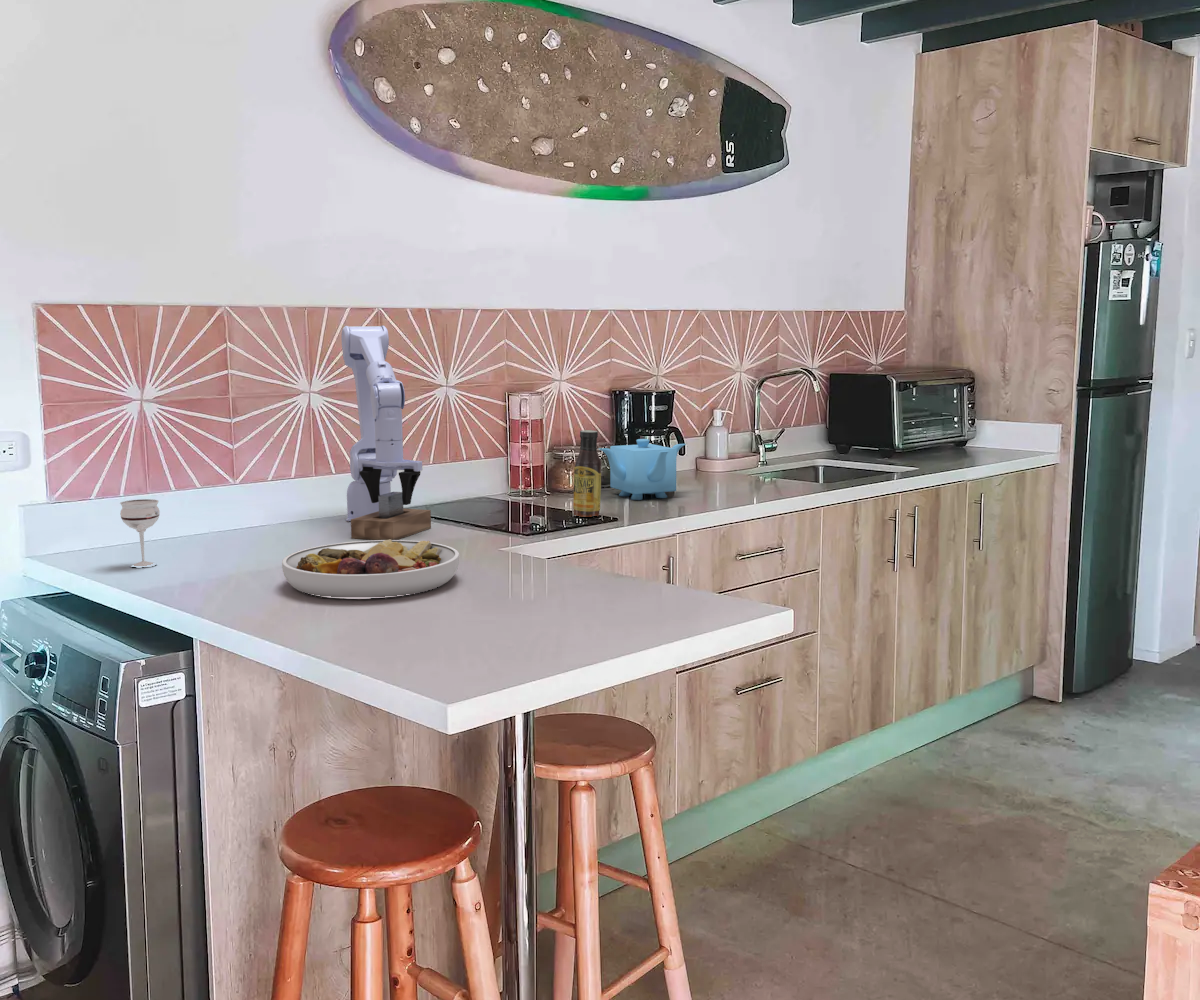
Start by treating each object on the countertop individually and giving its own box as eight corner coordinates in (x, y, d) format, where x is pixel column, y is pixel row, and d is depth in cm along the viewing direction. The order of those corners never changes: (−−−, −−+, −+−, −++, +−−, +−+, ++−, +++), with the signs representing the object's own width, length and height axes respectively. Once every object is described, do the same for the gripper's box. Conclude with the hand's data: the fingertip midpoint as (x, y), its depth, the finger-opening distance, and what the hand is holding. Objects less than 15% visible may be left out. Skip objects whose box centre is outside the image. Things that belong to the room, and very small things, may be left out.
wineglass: (170, 562, 217) (166, 499, 215) (147, 570, 211) (143, 505, 209) (139, 561, 219) (135, 498, 217) (116, 568, 213) (111, 504, 211)
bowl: (275, 573, 209) (273, 531, 208) (438, 560, 219) (437, 520, 218) (293, 612, 181) (290, 563, 180) (478, 595, 191) (477, 549, 190)
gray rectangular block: (379, 533, 244) (378, 495, 242) (394, 528, 249) (393, 491, 248) (389, 533, 243) (388, 496, 242) (404, 528, 248) (402, 492, 247)
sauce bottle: (568, 517, 264) (567, 431, 261) (581, 513, 270) (580, 429, 267) (593, 519, 261) (593, 432, 258) (606, 515, 267) (605, 430, 264)
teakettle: (620, 489, 308) (620, 434, 305) (688, 492, 301) (688, 436, 299) (596, 500, 290) (596, 442, 288) (668, 503, 284) (668, 444, 282)
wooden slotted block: (351, 538, 241) (350, 519, 240) (391, 525, 255) (390, 507, 255) (393, 541, 237) (392, 522, 236) (431, 528, 252) (430, 510, 251)
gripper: (348, 440, 242) (351, 504, 244) (409, 442, 237) (411, 508, 239) (367, 437, 248) (369, 499, 251) (426, 439, 243) (428, 502, 246)
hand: (391, 503), depth 245 cm, fingers open, 7 cm apart
